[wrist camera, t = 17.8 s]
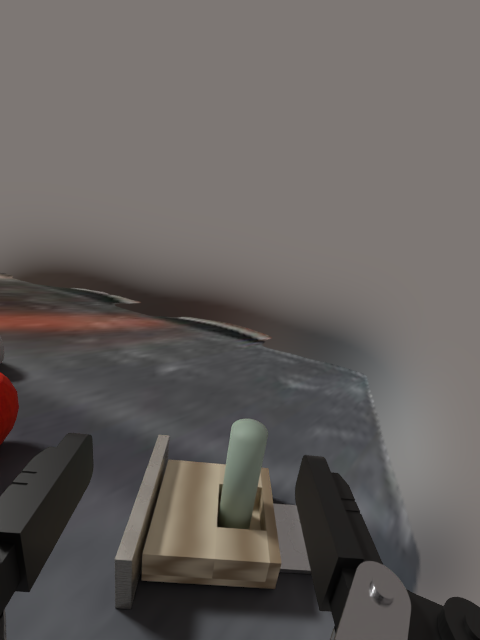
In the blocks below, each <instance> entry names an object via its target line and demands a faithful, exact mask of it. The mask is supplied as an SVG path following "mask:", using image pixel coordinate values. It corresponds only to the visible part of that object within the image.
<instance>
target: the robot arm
mask: <svg viewBox="0 0 480 640" xmlns="http://www.w3.org/2000/svg"><path fill="white" fill-rule="evenodd" d="M92 473H93V443H92V436H91V435H88V434H77V433H68V434H67V435H66V436H65V437H64V438H63V440H62V441H61V442H60V443H59V445H58V446H57V447H48V448H46V449H45V450H44V451H42V452H41V453H39V454H38V455H36V456H35V457H33V459H32V460H31V461H30V462H29V463H28V464H27V466H26V467H25V468H24V469H23V470H22V473H20V474H19V475H18V476H17V477H16V479H15V480H14V481H13V483H12V485H10V486H9V487H8V488H7V489H6V490H5V491H4V493H3V494H2V495H1V496H0V640H6V615H5V607H6V605H7V604H8V602H9V600H10V599H11V597H12V595H13V594H14V592H15V591H20V592H30V590H31V588H32V586H33V584H34V583H35V581H36V579H37V577H38V575H39V574H40V572H41V570H42V568H43V566H44V565H45V563H46V561H47V559H48V557H49V555H50V554H51V552H52V550H53V548H54V546H55V545H56V543H57V541H58V539H59V537H60V536H61V534H62V532H63V530H64V528H65V527H66V525H67V523H68V521H69V519H70V517H71V516H72V514H73V512H74V510H75V508H76V507H77V505H78V503H79V501H80V499H81V498H82V496H83V494H84V492H85V490H86V489H87V487H88V485H89V483H90V480H91V477H92ZM295 500H296V506H297V510H298V515H299V519H300V524H301V528H302V533H303V537H304V542H305V547H306V551H307V556H308V560H309V565H310V569H311V574H312V578H313V583H314V588H315V592H316V597H317V601H318V606H319V610H320V611H332V615H333V619H334V623H335V626H334V629H333V632H332V635H331V638H330V640H480V607H478V606H477V605H475V604H474V603H472V602H470V601H468V600H466V599H464V598H460V597H452V598H449V599H448V600H447V601H446V603H445V605H444V606H442V605H439V604H437V603H435V602H432V601H430V600H428V599H426V598H423V597H421V596H419V595H416V594H414V593H412V592H410V591H409V590H407V589H406V588H405V587H404V585H403V583H402V582H401V581H400V579H399V578H398V577H397V576H396V575H395V574H394V573H393V572H392V571H391V570H390V569H388V568H387V567H386V566H384V565H383V563H382V561H381V559H380V556H379V554H378V552H377V550H376V547H375V545H374V543H373V540H372V538H371V536H370V533H369V531H368V529H367V527H366V524H365V522H364V520H363V517H362V515H361V514H360V510H359V508H358V506H357V504H356V502H355V499H354V497H353V494H352V492H351V490H350V487H349V485H348V484H347V483H346V482H345V481H344V479H343V478H342V477H341V476H340V475H339V474H338V473H331V472H330V469H329V466H328V464H327V461H326V459H325V458H324V457H319V456H309V455H304V456H303V458H302V462H301V466H300V470H299V474H298V478H297V482H296V487H295Z"/></svg>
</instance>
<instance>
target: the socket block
mask: <svg viewBox="0 0 480 640" xmlns="http://www.w3.org/2000/svg"><path fill="white" fill-rule="evenodd" d="M225 468H226V465H224V464H213V463H202V462H190V461H179V460H168V463H167V467H166V470H165V474H164V478H163V481H162V485H161V489H160V492H159V496H158V499H157V503H156V507H155V510H154V514H153V518H152V521H151V525H150V528H149V532H148V536H147V539H146V543H145V547H144V550H143V554H142V581H157V582H173V583H189V584H205V585H221V586H237V587H253V588H269V589H275V586H276V583H277V579H278V575H279V571H280V567H281V556H280V549H279V542H278V535H277V528H276V520H275V513H274V506H273V499H272V492H271V484H270V477H269V470H268V468H261V472H260V477H259V482H258V487H257V492H256V497H255V502H254V507H253V512H252V517H251V522H250V527H249V530H248V529H235V528H221V527H218V515H219V508H220V502H221V495H222V488H223V481H224V475H225Z"/></svg>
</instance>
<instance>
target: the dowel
mask: <svg viewBox="0 0 480 640" xmlns="http://www.w3.org/2000/svg"><path fill="white" fill-rule="evenodd" d="M267 437H268V431H267V429H266V427H265V426H264V425H263V424H261V423H260V422H258V421H256V420H252V419H240V420H238V421H236V422H235V423H234V424H233V425H232V427H231V434H230V441H229V448H228V454H227V461H226V468H225V475H224V481H223V488H222V495H221V502H220V508H219V515H218V527H221V528H235V529H248V530H249V527H250V522H251V517H252V512H253V507H254V502H255V497H256V492H257V487H258V482H259V477H260V472H261V467H262V462H263V457H264V452H265V447H266V442H267Z"/></svg>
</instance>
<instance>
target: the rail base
mask: <svg viewBox="0 0 480 640" xmlns="http://www.w3.org/2000/svg"><path fill="white" fill-rule="evenodd" d="M168 451H169V436H168V435H159V436H158V439H157V441H156V444H155V447H154V450H153V453H152V456H151V458H150V461H149V464H148V467H147V470H146V473H145V475H144V478H143V481H142V484H141V487H140V490H139V492H138V495H137V498H136V501H135V504H134V507H133V509H132V512H131V515H130V518H129V521H128V524H127V526H126V529H125V532H124V535H123V538H122V541H121V543H120V546H119V549H118V552H117V555H116V558H115V608H121V609H131V607H132V603H133V600H134V596H135V592H136V588H137V585H138V581H139V577H140V573H141V569H142V554H143V550H144V547H145V543H146V539H147V536H148V532H149V528H150V525H151V521H152V518H153V514H154V510H155V507H156V503H157V499H158V496H159V492H160V489H161V485H162V481H163V478H164V474H165V470H166V467H167V463H168ZM273 506H274V513H275V520H276V528H277V535H278V542H279V549H280V556H281V567H280V571H279V572H284V573H299V574H311V569H310V565H309V560H308V556H307V551H306V547H305V542H304V537H303V533H302V528H301V524H300V519H299V515H298V510H297V506H296V505H285V504H273Z"/></svg>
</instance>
